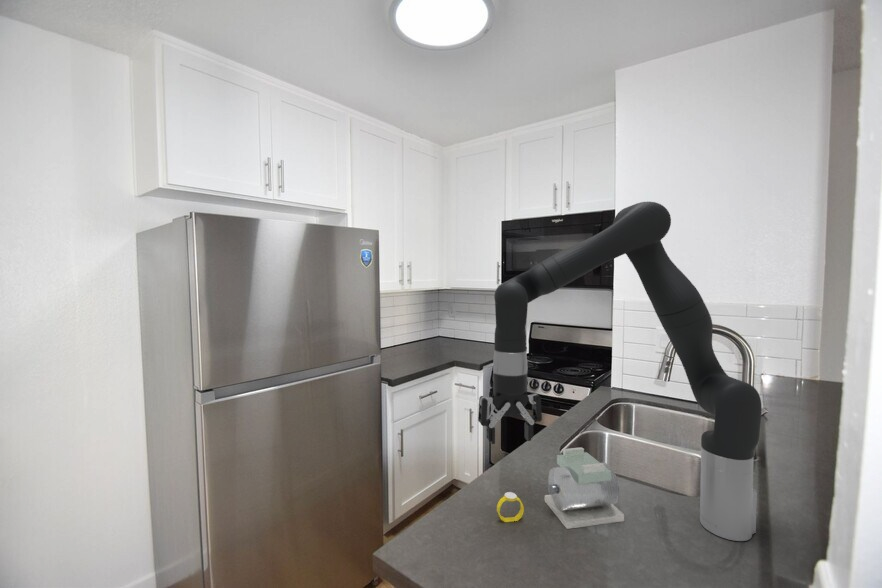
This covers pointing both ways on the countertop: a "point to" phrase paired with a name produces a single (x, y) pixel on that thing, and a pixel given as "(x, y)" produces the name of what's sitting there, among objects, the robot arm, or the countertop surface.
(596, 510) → the motor
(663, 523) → the countertop surface
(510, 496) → the yellow watch
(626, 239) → the robot arm
